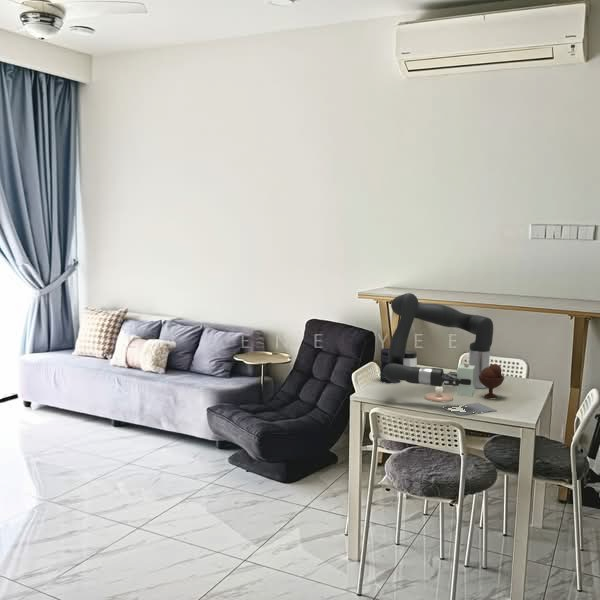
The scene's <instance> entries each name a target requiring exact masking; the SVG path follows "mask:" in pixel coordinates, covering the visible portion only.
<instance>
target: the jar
mask: <svg viewBox="0 0 600 600" xmlns="http://www.w3.org/2000/svg"><path fill="white" fill-rule="evenodd" d="M417 363H418V358H417V351H415V350H408V349H406V350H405V355H404V364H403V365H405V366H409V367H418V364H417Z"/></svg>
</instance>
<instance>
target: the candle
mask: <svg viewBox="0 0 600 600" xmlns="http://www.w3.org/2000/svg"><path fill="white" fill-rule="evenodd" d="M434 390H435V392H434V393H435V396H436V397H443V393H444V386H441V387H439V386H435V389H434Z"/></svg>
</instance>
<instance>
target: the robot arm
mask: <svg viewBox="0 0 600 600" xmlns="http://www.w3.org/2000/svg"><path fill="white" fill-rule="evenodd" d="M390 308H391V309H392V311H393V313H395V314H396V315H397V316H398V317H399V316H400V318H399V321H398V324H397V326H396V328H395V330H394V332H393V334H392V336H391V338H390V342H389V347H388V349H389V352H388V357H389V364H387V365H386V366H385V367H384V369H383V374H384V376H385V377H386V378H387V380H388V381H390V382H392V383H393V384H398V383H397V382H399V381H400V382H401V381H405V382H407V383H409V384H416V385H422V386H430V387H431V386H432V387H437V386H439V387H443V386H453V387H455V386H456V387H457V386H459V385H461V384H462V385H471V380H470V379H460V378H457V372H456V371H449V372H447V373H444V372H445V371H444V369H443V368H440V367H428V366H427V367H419V366H417V367H409V366H405V365H403V364H404V355H405V350H407V344H408V339H409V334H410V332H411V329H412V327H413V323H414V321H415V319H417V320H420V321H425V322H427V323H430V324H435V325H438V326H441V327H446V328H456V329H461V330H463V331H466V332H468V333H471V334H472V335H475V340H474V341H473V342H471V343H470V344H469V357H468V364H469V365H470V366H475V388H474V389H486V388H487V387H486V386H484V385H483V384H482V383H481V382H480V380H479V375H480V374H481V372H482V370H483V369H484V368H486V367H489V366H490V357H491V356H490V355H491V347H492V343H493V338H494V323H493V321H492V319H491V318H490V317H487V316H482V315H479V314H471V313H464V312H461V311H459V310H457V309H456V308H453V307H450V306H448V305H443V304H440V303H426V302H425V303H422V302H419V299H418V297H417V296H416V295H415V294H414V293H411V292H408V293H403V294H401V295H398V296H396V297H394V298H393V299H392V301H391V303H390ZM400 382H399V383H400Z"/></svg>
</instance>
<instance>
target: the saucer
mask: <svg viewBox="0 0 600 600" xmlns="http://www.w3.org/2000/svg"><path fill="white" fill-rule="evenodd" d="M425 398H426V399H425ZM424 399H425V400H427V399H428V400H427V401H429V400H432V401H431V402H434V401H450V400H452V399H453V400H454V396H453V395H452V394H450V393H444V392H443V397H436V396H435V392H427V393H426V394H424ZM453 400H452V401H453ZM450 402H451V401H450Z"/></svg>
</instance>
